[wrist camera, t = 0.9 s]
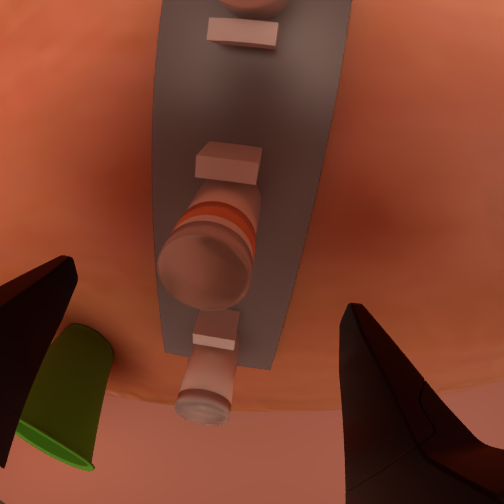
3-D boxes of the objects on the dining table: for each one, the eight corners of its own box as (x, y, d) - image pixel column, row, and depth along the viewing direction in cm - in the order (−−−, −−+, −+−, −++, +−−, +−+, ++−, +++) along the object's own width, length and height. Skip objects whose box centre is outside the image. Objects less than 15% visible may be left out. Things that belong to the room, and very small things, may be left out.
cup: (153, 363, 25) (116, 476, 16) (100, 378, 28) (65, 466, 19) (76, 292, 21) (6, 407, 12) (36, 323, 25) (-16, 410, 15)
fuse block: (352, -41, 9) (371, -65, 6) (270, 359, 23) (268, 396, 20) (180, -56, 9) (155, -80, 6) (168, 342, 23) (156, 377, 20)
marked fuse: (266, 173, 14) (256, 241, 9) (257, 231, 16) (245, 316, 11) (200, 164, 14) (154, 226, 9) (197, 222, 16) (159, 301, 11)
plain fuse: (243, 325, 20) (231, 406, 15) (239, 353, 21) (227, 429, 16) (195, 317, 20) (172, 395, 15) (196, 346, 21) (176, 419, 16)
